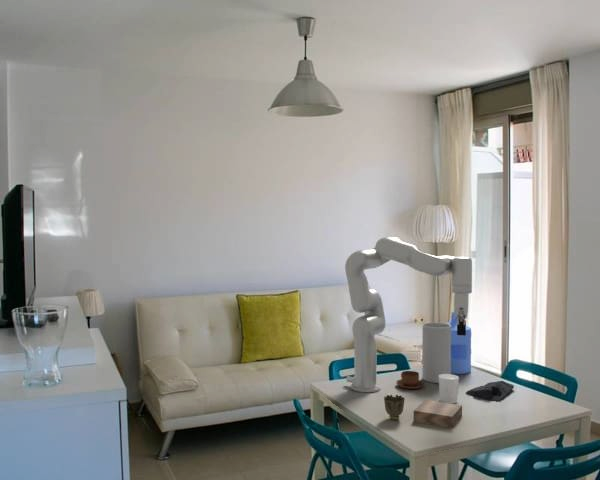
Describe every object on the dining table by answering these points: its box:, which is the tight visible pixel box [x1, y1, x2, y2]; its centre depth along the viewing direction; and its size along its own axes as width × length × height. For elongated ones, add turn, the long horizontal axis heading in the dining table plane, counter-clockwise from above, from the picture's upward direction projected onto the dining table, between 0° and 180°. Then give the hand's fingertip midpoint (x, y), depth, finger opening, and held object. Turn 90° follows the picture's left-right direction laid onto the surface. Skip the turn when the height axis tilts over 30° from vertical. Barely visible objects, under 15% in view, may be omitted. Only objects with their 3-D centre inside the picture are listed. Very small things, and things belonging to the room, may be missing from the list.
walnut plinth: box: [413, 399, 463, 429], centre depth 211 cm, size 14×14×4 cm
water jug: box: [444, 311, 472, 375], centre depth 278 cm, size 16×16×28 cm
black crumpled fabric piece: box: [465, 380, 515, 402], centre depth 243 cm, size 15×22×5 cm
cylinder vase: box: [421, 322, 451, 384], centre depth 262 cm, size 12×12×25 cm
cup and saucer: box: [396, 370, 425, 390], centre depth 252 cm, size 12×12×6 cm
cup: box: [383, 394, 405, 421], centre depth 211 cm, size 8×7×8 cm
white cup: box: [438, 374, 460, 404], centre depth 231 cm, size 8×8×10 cm
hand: (461, 332), depth 224 cm, fingers open, 9 cm apart
